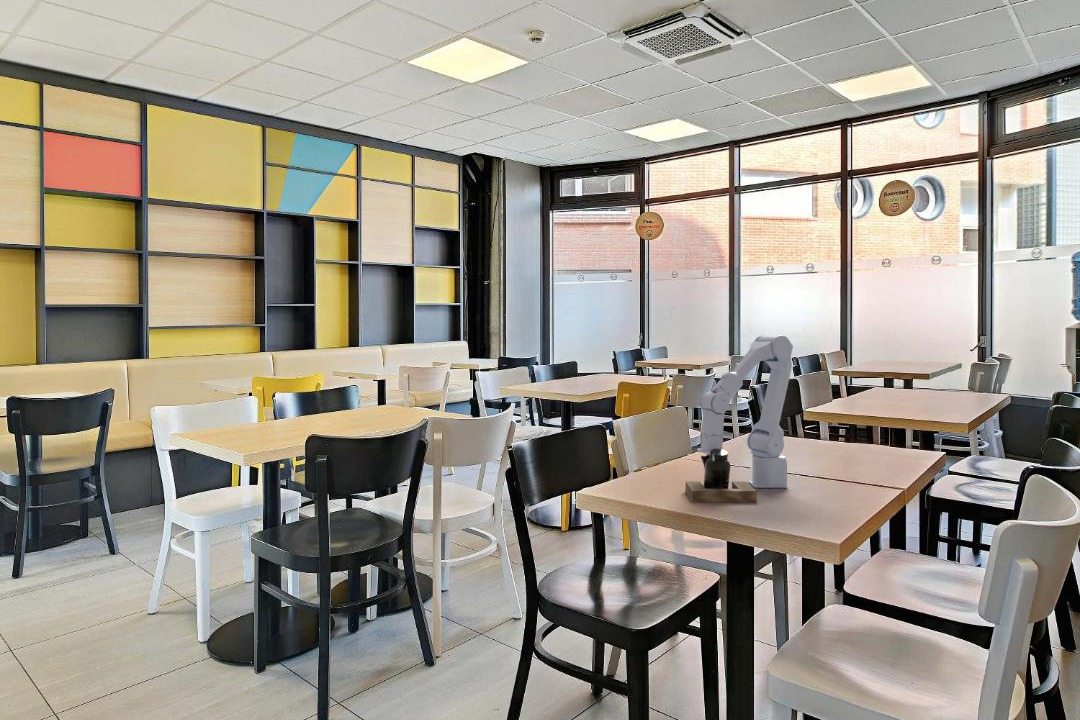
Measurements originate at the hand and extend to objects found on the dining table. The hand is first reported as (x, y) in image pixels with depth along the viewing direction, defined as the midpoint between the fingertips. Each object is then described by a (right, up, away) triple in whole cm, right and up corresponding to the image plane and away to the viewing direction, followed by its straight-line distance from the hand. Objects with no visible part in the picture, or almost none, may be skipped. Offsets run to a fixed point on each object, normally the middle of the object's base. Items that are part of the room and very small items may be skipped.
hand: (710, 481), depth 199 cm
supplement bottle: (+1, -2, -3) cm, 4 cm away
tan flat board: (+1, -3, -7) cm, 8 cm away
